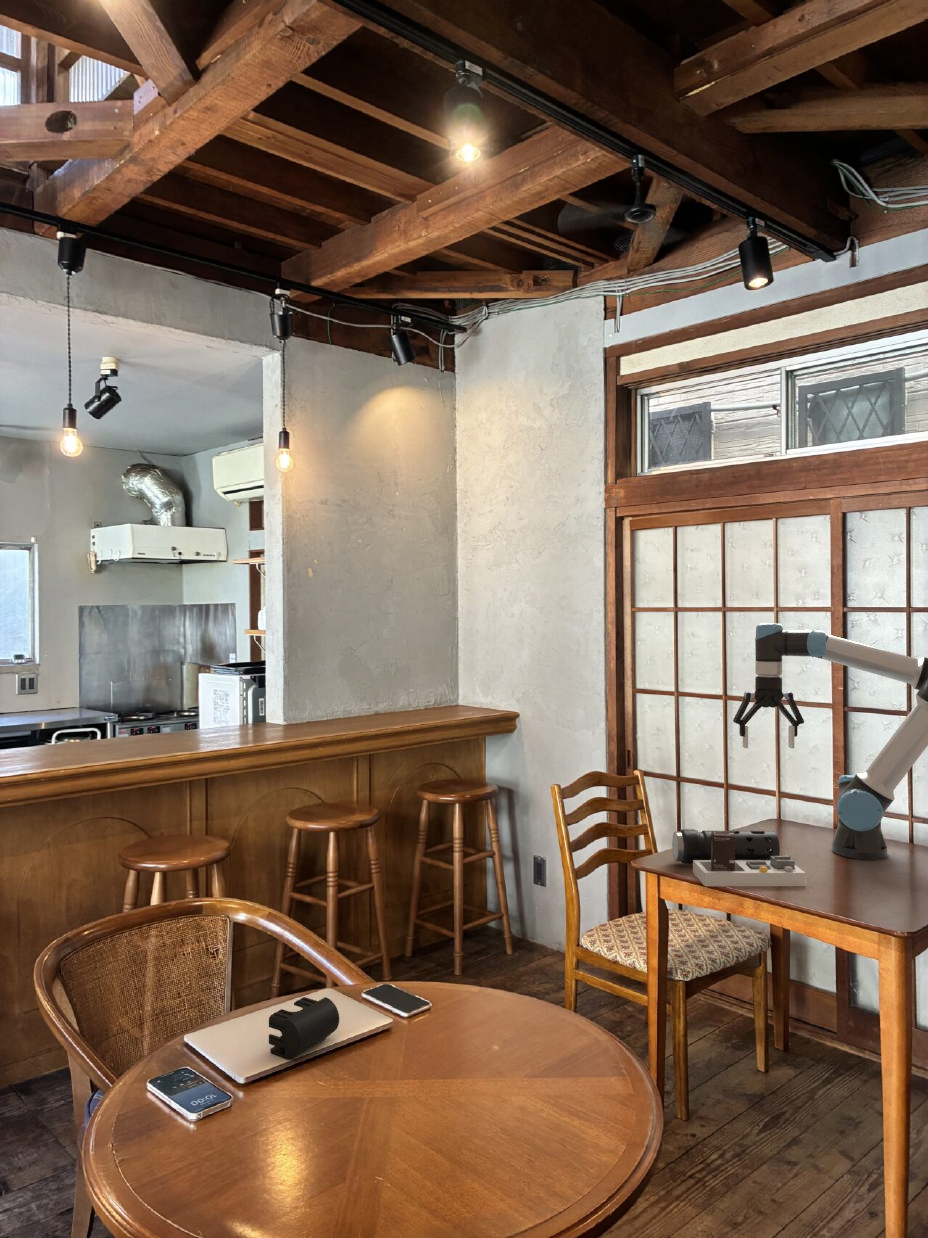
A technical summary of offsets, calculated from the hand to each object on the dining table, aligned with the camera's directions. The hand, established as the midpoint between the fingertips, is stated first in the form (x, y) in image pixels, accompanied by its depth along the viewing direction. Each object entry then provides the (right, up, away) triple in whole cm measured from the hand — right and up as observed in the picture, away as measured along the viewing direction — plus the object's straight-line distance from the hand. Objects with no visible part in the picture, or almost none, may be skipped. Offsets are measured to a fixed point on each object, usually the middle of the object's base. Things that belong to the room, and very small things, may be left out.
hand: (768, 747), depth 265 cm
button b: (-11, -31, -24) cm, 41 cm away
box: (-20, -32, -24) cm, 45 cm away
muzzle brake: (-16, -32, -11) cm, 38 cm away
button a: (-4, -30, -24) cm, 38 cm away
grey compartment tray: (-14, -32, -24) cm, 42 cm away
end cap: (-116, -33, -116) cm, 168 cm away
